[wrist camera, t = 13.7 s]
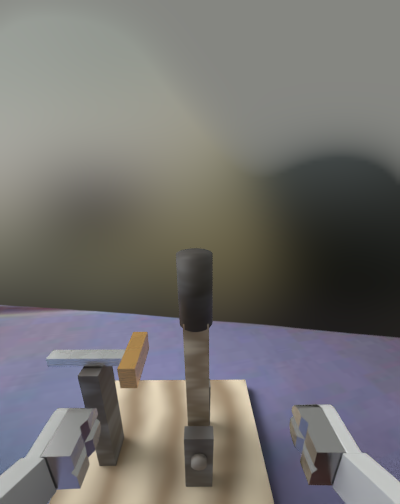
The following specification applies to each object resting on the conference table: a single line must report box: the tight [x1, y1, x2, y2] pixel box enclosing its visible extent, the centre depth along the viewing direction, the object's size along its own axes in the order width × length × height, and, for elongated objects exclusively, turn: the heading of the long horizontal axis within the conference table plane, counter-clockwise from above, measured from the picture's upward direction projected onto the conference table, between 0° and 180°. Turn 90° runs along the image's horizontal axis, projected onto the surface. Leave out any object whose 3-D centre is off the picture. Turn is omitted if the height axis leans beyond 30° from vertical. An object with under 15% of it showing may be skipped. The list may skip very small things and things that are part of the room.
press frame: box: [49, 366, 274, 504], centre depth 25 cm, size 24×20×16 cm
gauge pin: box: [46, 332, 149, 388], centre depth 22 cm, size 10×5×2 cm, turn 90°
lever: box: [176, 248, 212, 426], centre depth 22 cm, size 3×3×22 cm
